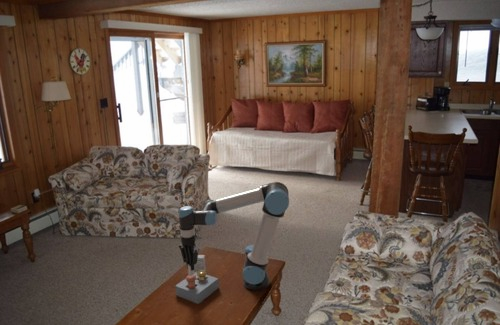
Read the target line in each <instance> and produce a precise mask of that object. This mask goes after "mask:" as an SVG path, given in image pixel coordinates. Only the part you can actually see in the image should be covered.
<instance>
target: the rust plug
mask: <svg viewBox="0 0 500 325" xmlns="http://www.w3.org/2000/svg"><path fill="white" fill-rule="evenodd" d="M185 279H186V281H188V288H190V289H193V288H195V280H196V276H195V275H192V276H189V274H187V276H186V277H185Z"/></svg>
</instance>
